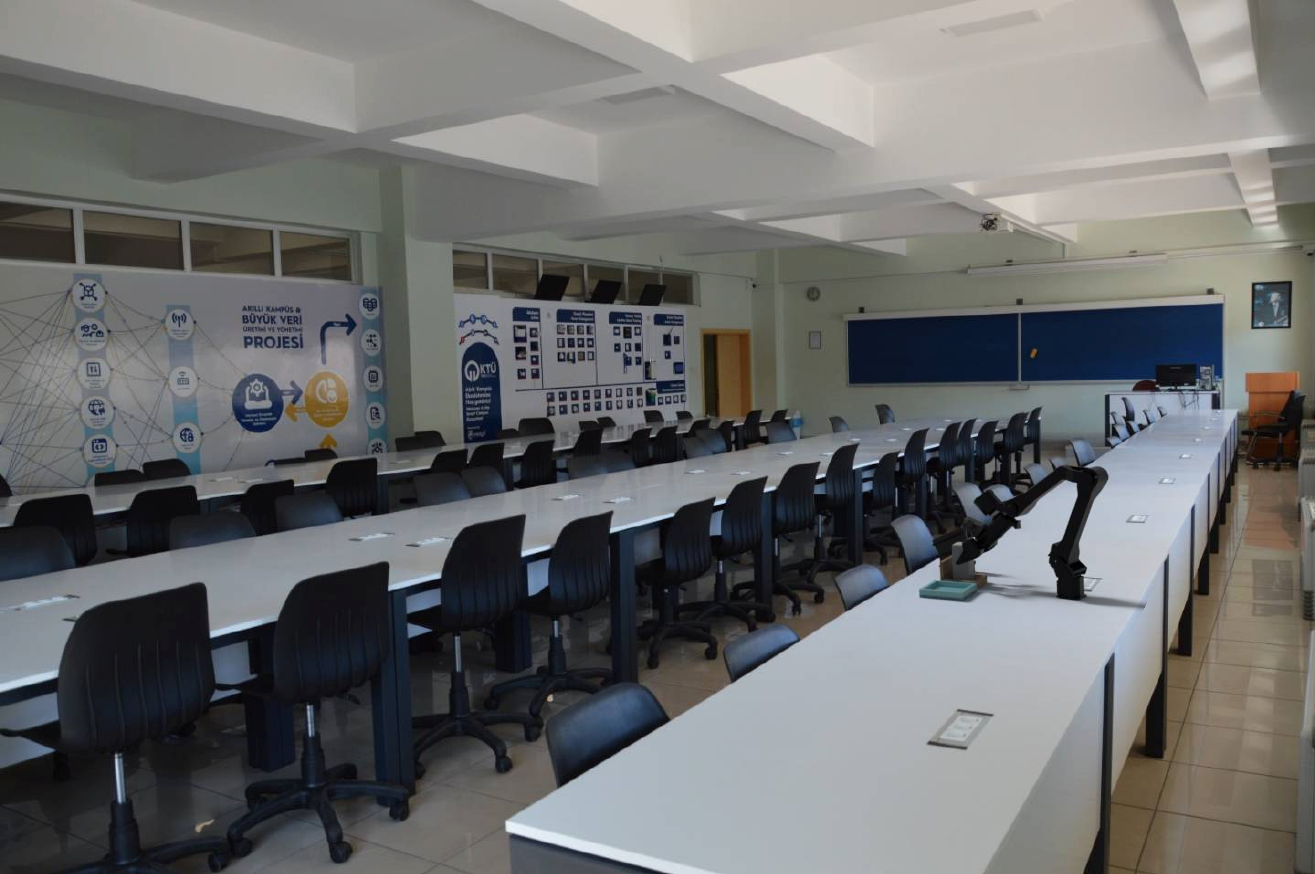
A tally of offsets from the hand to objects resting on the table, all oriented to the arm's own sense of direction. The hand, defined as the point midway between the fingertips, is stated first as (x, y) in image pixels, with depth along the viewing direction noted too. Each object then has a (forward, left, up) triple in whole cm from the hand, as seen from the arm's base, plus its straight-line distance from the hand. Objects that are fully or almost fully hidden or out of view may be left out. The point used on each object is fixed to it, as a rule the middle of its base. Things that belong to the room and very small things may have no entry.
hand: (961, 561), depth 305 cm
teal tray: (-3, +13, -7) cm, 16 cm away
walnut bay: (-1, 0, -7) cm, 8 cm away
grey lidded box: (-1, 0, -7) cm, 8 cm away
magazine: (+11, -16, -8) cm, 21 cm away
